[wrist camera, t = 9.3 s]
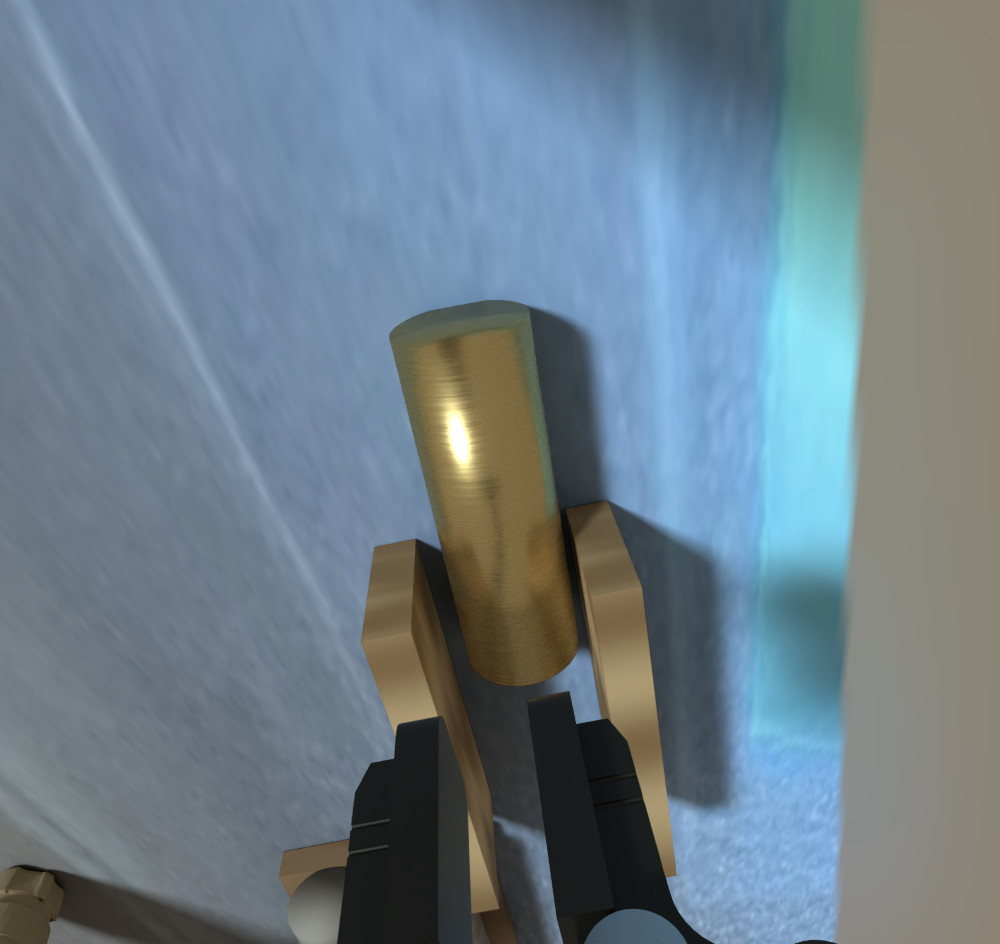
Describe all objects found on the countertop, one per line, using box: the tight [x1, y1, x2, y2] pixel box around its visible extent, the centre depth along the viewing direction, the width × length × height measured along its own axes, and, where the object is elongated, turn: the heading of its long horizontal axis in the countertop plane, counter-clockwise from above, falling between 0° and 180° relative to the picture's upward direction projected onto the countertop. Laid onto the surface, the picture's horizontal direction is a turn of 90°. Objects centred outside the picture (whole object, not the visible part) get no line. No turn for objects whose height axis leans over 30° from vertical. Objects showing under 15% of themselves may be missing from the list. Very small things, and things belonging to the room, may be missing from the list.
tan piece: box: [361, 501, 677, 914], centre depth 27 cm, size 14×8×5 cm, turn 11°
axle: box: [389, 300, 579, 686], centre depth 24 cm, size 12×4×4 cm, turn 9°
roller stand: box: [279, 840, 517, 944], centre depth 34 cm, size 10×9×4 cm
